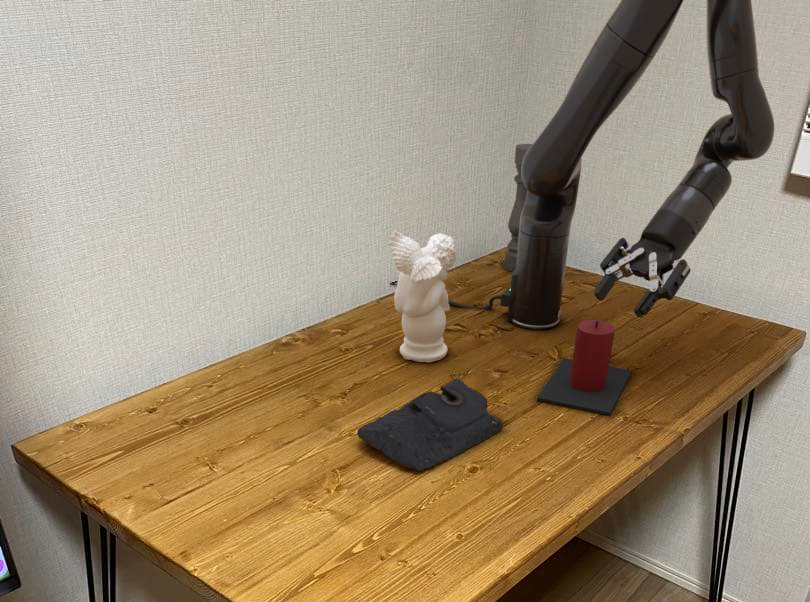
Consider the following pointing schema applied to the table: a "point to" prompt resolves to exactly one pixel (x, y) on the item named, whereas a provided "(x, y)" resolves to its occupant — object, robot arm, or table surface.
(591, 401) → the mat
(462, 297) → the table surface
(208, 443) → the table surface
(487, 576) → the table surface
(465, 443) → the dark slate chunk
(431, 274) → the cherub figurine
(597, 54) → the robot arm
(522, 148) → the candle holder
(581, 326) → the candle
